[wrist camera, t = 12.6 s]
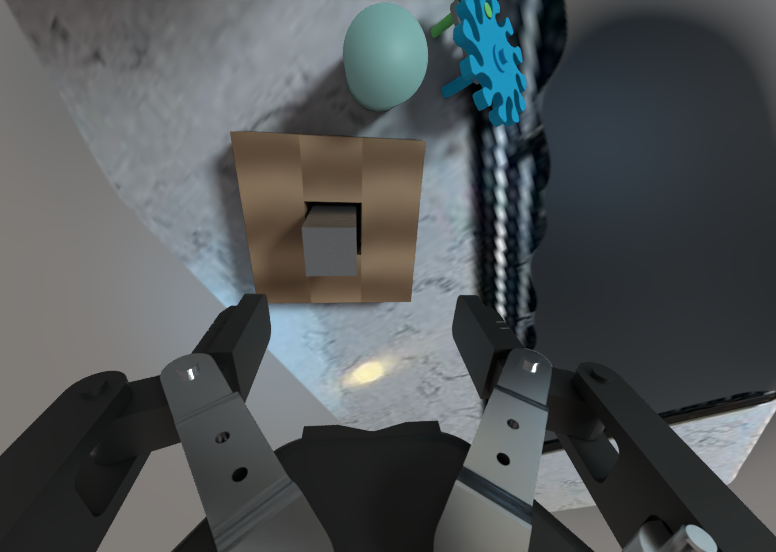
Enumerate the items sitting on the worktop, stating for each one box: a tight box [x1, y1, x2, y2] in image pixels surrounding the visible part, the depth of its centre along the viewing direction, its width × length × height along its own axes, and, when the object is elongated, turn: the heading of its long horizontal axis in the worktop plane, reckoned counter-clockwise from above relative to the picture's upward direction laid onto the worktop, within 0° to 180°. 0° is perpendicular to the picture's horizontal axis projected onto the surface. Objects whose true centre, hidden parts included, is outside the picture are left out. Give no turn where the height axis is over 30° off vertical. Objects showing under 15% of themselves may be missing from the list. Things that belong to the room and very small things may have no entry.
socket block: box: [230, 131, 426, 303], centre depth 31 cm, size 16×16×4 cm
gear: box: [431, 0, 526, 127], centre depth 26 cm, size 11×6×10 cm
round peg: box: [343, 3, 428, 112], centre depth 24 cm, size 6×6×8 cm
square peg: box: [302, 201, 357, 276], centre depth 28 cm, size 4×4×10 cm
